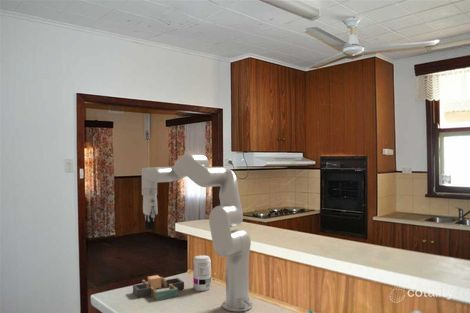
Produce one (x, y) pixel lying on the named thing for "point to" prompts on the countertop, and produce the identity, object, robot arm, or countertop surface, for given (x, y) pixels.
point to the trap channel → (144, 291)
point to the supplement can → (202, 273)
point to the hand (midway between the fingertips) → (149, 228)
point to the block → (154, 281)
